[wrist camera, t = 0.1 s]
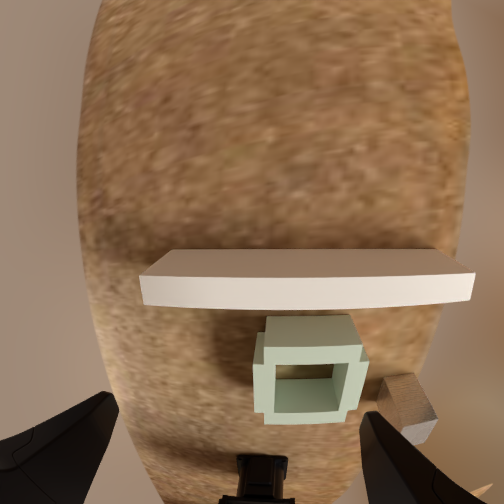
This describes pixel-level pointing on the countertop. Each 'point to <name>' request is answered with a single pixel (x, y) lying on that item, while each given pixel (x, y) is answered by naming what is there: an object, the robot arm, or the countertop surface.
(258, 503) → the robot arm
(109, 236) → the countertop surface
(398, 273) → the backstop wall
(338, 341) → the socket block
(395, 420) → the grey square block
